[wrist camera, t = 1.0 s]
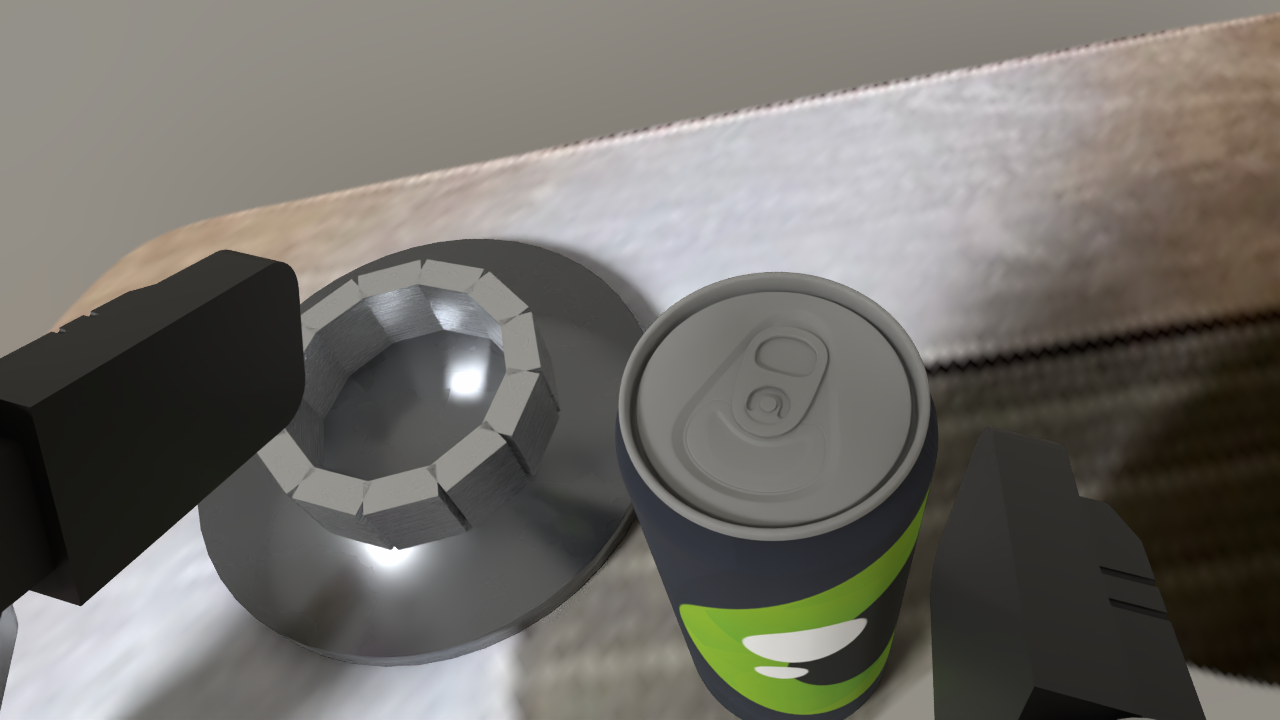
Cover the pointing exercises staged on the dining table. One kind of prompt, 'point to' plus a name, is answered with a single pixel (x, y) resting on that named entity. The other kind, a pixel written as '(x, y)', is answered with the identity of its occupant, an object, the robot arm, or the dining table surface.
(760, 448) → the beverage can
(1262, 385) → the dining table surface
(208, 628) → the dining table surface
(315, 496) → the rosette
